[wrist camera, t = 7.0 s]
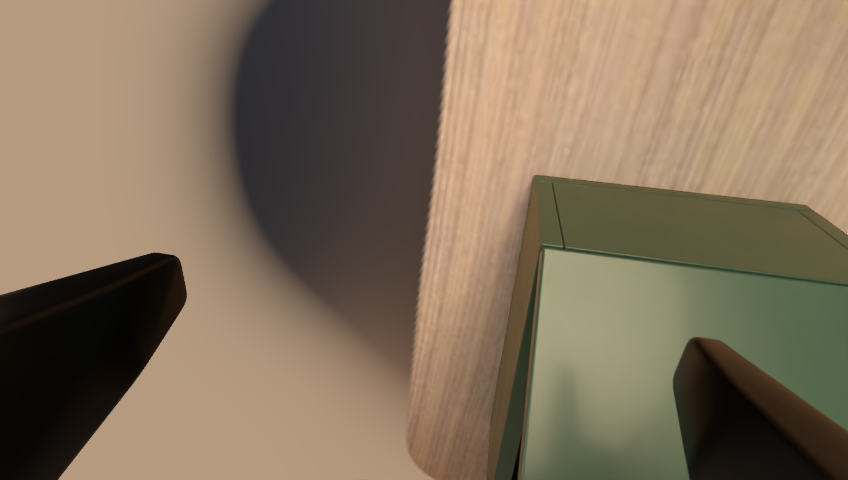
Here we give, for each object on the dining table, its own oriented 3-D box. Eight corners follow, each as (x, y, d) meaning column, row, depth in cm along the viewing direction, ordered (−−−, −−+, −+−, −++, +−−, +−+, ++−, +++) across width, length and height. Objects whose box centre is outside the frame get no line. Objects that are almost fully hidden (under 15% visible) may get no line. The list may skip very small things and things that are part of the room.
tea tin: (687, 454, 25) (735, 582, 20) (490, 419, 26) (483, 530, 21) (807, 204, 18) (929, 293, 13) (533, 174, 20) (540, 243, 14)
